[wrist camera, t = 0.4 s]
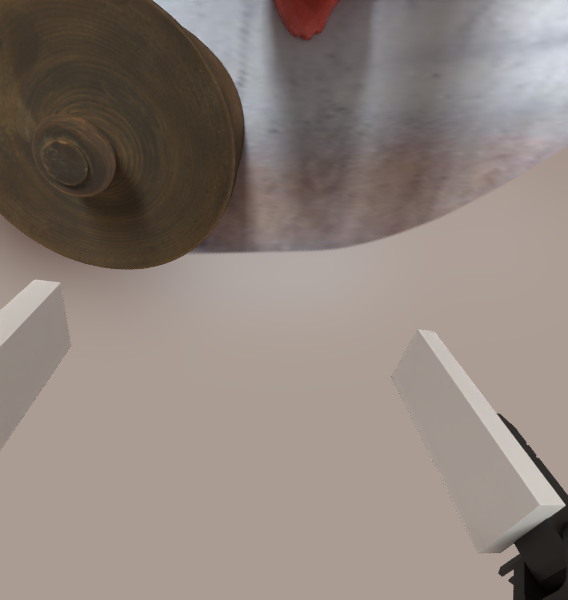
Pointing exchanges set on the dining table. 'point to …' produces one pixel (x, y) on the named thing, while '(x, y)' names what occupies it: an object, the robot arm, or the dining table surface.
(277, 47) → the dining table surface
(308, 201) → the dining table surface
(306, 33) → the stacking bear
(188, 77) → the wooden container
